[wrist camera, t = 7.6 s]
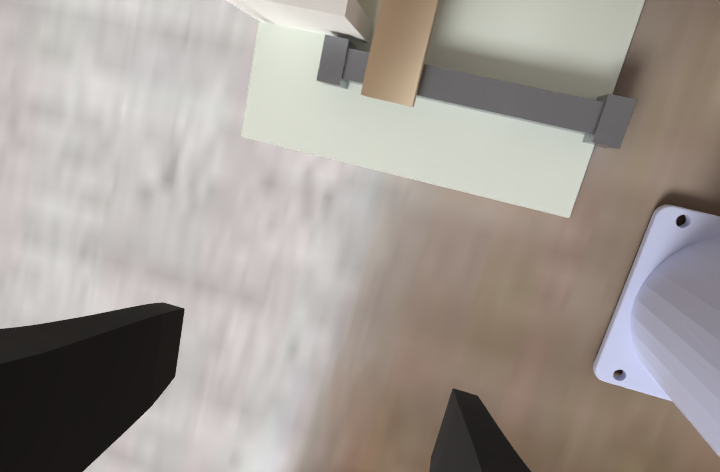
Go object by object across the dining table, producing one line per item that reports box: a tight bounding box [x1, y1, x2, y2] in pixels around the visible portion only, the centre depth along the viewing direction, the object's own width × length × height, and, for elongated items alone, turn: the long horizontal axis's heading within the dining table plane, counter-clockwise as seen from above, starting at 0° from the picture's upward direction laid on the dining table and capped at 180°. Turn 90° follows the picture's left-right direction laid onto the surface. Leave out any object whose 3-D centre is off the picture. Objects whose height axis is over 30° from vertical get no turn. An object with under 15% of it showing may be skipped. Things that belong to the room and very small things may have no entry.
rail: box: [316, 34, 637, 149], centre depth 18 cm, size 12×2×2 cm, turn 77°
